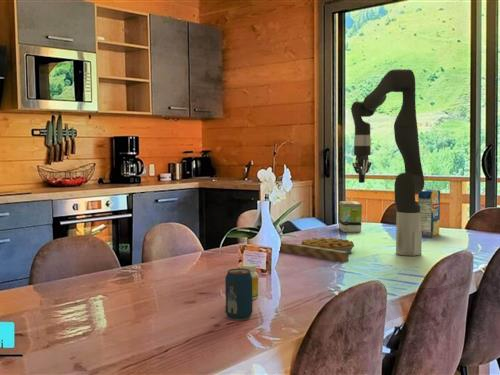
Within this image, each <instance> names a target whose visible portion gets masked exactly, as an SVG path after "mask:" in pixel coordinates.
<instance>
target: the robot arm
mask: <svg viewBox="0 0 500 375" xmlns="http://www.w3.org/2000/svg"><path fill="white" fill-rule="evenodd" d="M389 93H402V104H401V108H400V110H399V112H398V114H397V116H396V118H395V119H394V120H395V121H394V122H393V123H394V124H393V132H394V133H393V135H394V140H395V145H396V148H397V149H398V150H399V152H400V155H401V157H402V159H403V163H404V172H401V173H399V174H398V175H396V178H395V181H394V188H393V191H394V204H395V207H396V219H395V220H396V224H395V225H396V229H395V230H396V231H395V236H396V237H395V239H396V240H395V254H396V255H400V256H411V257H412V256H413V257H416V256H419V255H422V249H423V248H422V245H423V244H422V242H423V241H422V238H423V236H422V231H420V205H419V204H418V202H417V201H416V195H418V194H419V193H420V192H422V190H424V188H425V177H424V173H423V167H422V162H421V153H420V152H421V151H420V144H419V132H418V130H419V128H418V120H417V111H416V110H417V109H416V106H417V105H416V76H415V73H414V71H413V70H412V69H410V68H394V69H390V70H389V71H387V72H386V74H384V76H383V78H382V79H381V80H380V81H379V83H378V84H377V86H376V87H375V88H374V89H373V90H372V91H370V93H368V94H367V95H366V96H365V97H364V99H363V101H362V100H356V101H355V100H354V102H353V103H352V104H351V108H350V111H351V115H352V116H351V117H352V119H353V124H354V139H353V155H354V156H355V161H354V162H352V167H353V169H354V171H355V173H356V174H358V183H359V184H362V183H363V184H364V183H365V182H366V175H367V174H369V171H370V168H371V166H372V164H373V163H372V162H371V161H369V160H370V158H369V156H371V155H372V153H371V152H372V150H371V149H372V148H371V147H372V145H371V144H372V138H371V123H370V122H368V121H364V120H363V118H364V117H367V118H368V117H369V118H370V117H372V116H373V115H374V114H375V113H376V112H377V109H378V108H379V107H380V106H382V105H383V104H384V103H385V101H386V99H387V94H389Z"/></svg>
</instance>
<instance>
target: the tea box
mask: <svg viewBox="0 0 500 375" xmlns="http://www.w3.org/2000/svg"><path fill="white" fill-rule="evenodd" d="M338 203H339V205H338V229H340V230H341V231H342V232H343V233H344V232H345V233H347V232H348V233H349V232H350V233H362V221H363V220H362V216H363V214H362V213H363V212H362V211H363V203H361V202H359V201H355V200H354V201H351V200H348V201H347V200H346V201H344V200H342V201H339V202H338Z"/></svg>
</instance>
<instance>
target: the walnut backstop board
mask: <svg viewBox="0 0 500 375" xmlns="http://www.w3.org/2000/svg"><path fill="white" fill-rule="evenodd" d="M279 252H283V253H287V254H293V255H299V256H306V257H310V258H311V257H313V258H318V259H324V260H330V261H336V262H341V263H345V262H349V254H348V252H346V251H340V250H333V249H327V248H320V247H314V246H307V245H301V244H300V243H292V242H288V241H287V242H286V241H281V247H280V251H279Z"/></svg>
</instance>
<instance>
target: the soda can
mask: <svg viewBox="0 0 500 375" xmlns="http://www.w3.org/2000/svg"><path fill="white" fill-rule="evenodd" d="M224 283H225V285H224V286H225V287H224V288H225V293H224V294H225V296H224V297H225V305H224V306H225V307H224V308H225V310H224V311H225V314H226V316H227V317H228V319H229V318H230V320H232V319H235V320H234V321H244V320H243V319H246V320H249V319H250V318H251V317H252V314H253V310H254V309H253V307H254V306H253V301H254V300H253V296H252V275H251V273H250V270H248V269H243V268H242V267H241V268H239V267H238V268H236V267H235V268H231V269H228V270H227V273H226V275H225V281H224ZM249 317H250V318H249Z"/></svg>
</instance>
